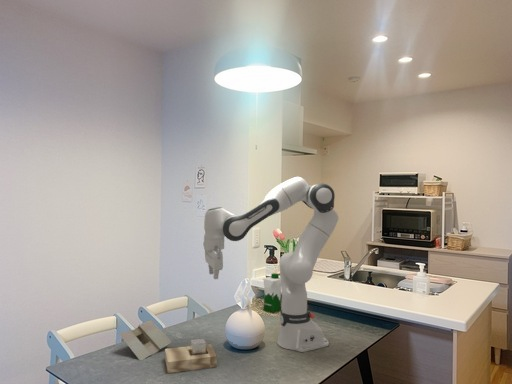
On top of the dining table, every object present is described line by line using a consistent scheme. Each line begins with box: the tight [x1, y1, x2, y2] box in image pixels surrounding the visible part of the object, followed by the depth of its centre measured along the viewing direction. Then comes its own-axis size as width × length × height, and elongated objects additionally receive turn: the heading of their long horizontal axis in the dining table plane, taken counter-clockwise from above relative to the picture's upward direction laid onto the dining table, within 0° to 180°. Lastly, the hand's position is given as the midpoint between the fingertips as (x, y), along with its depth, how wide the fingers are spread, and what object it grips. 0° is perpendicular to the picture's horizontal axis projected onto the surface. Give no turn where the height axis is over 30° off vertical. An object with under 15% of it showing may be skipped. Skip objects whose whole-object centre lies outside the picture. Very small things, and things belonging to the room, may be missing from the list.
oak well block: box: [164, 343, 218, 374], centre depth 146 cm, size 18×12×4 cm, turn 108°
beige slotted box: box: [119, 319, 173, 361], centre depth 158 cm, size 16×9×15 cm
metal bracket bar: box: [190, 338, 207, 356], centre depth 147 cm, size 5×4×8 cm
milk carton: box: [262, 272, 282, 314], centre depth 211 cm, size 9×9×20 cm
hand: (213, 276), depth 165 cm, fingers open, 8 cm apart
